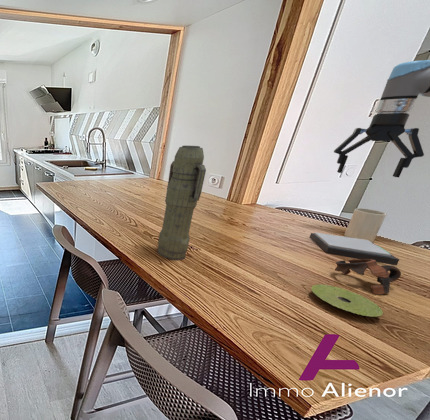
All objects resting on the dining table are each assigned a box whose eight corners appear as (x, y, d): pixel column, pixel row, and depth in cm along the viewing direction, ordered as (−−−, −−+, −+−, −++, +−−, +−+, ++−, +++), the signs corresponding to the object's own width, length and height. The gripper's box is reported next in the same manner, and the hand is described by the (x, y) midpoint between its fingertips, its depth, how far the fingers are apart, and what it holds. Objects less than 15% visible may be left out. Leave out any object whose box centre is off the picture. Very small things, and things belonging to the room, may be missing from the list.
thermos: (166, 243, 88) (184, 144, 77) (195, 259, 78) (221, 147, 67) (147, 247, 85) (163, 145, 74) (175, 264, 75) (198, 148, 63)
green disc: (306, 284, 66) (308, 278, 65) (371, 303, 59) (374, 296, 58) (311, 307, 58) (314, 300, 57) (387, 331, 51) (391, 324, 50)
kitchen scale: (368, 246, 87) (372, 239, 87) (396, 265, 76) (400, 257, 75) (309, 237, 95) (311, 231, 94) (326, 253, 83) (329, 245, 82)
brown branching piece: (364, 297, 62) (352, 264, 63) (331, 290, 71) (321, 262, 72) (423, 290, 60) (409, 257, 61) (381, 284, 69) (369, 255, 70)
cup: (366, 236, 96) (378, 210, 93) (378, 243, 90) (392, 216, 86) (340, 232, 99) (350, 207, 96) (350, 239, 93) (362, 212, 90)
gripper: (341, 113, 88) (320, 172, 95) (462, 111, 73) (428, 180, 80) (336, 114, 94) (317, 169, 100) (448, 112, 79) (417, 177, 86)
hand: (366, 174), depth 90 cm, fingers open, 13 cm apart
